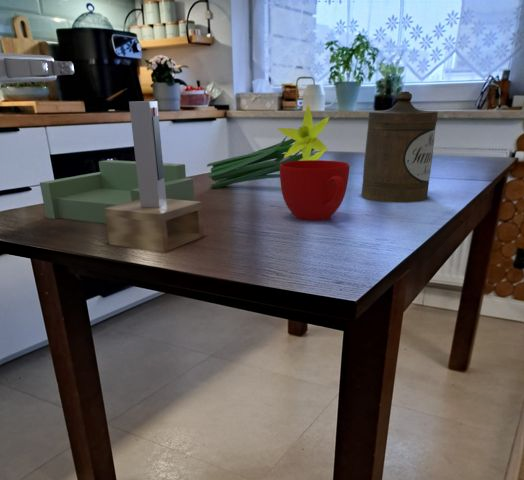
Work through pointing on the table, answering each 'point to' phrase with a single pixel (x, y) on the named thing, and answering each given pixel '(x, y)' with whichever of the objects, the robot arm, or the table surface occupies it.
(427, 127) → the wooden container
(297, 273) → the table surface
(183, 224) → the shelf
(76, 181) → the sofa
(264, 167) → the daffodil flowers
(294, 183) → the ceramic cup
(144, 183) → the grey rectangular block
